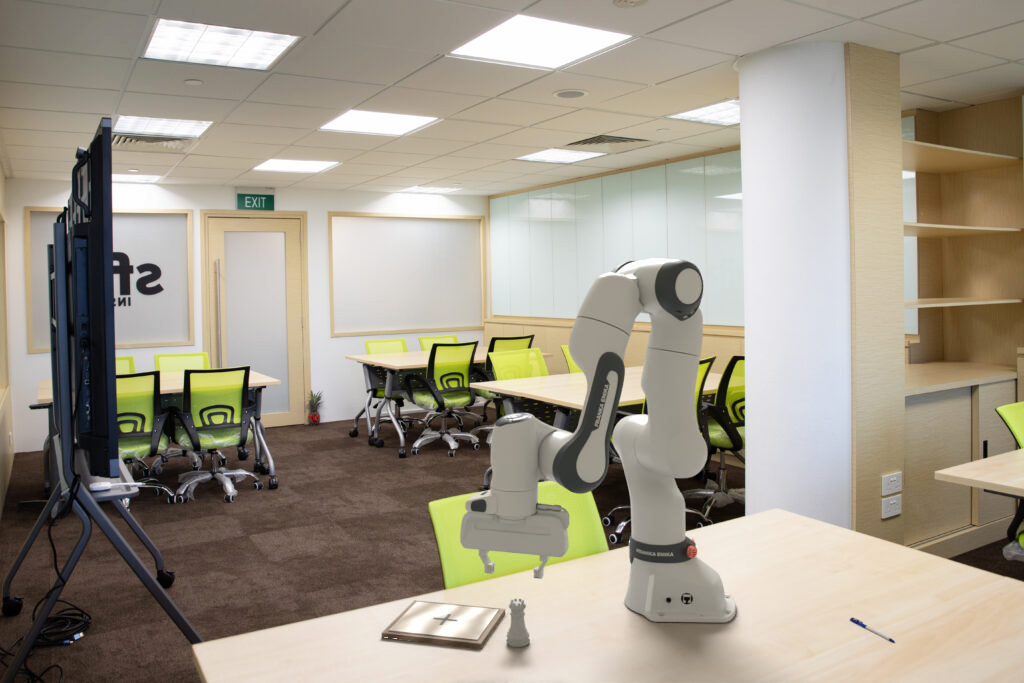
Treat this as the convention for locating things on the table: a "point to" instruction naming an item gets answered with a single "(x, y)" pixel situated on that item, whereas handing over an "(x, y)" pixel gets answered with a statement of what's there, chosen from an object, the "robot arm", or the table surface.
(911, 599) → the table surface
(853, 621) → the ballpoint pen
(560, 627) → the table surface
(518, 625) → the rook chess piece
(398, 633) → the brown-bordered mat
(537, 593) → the table surface
